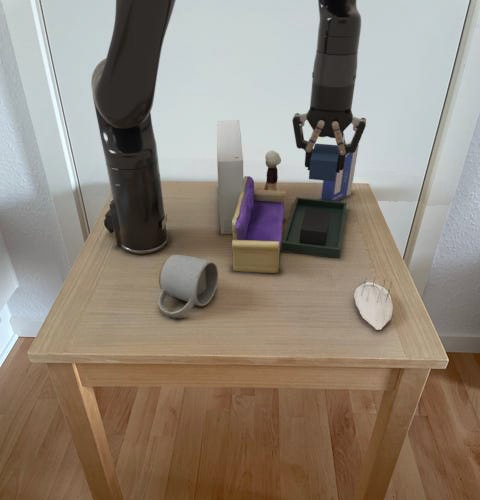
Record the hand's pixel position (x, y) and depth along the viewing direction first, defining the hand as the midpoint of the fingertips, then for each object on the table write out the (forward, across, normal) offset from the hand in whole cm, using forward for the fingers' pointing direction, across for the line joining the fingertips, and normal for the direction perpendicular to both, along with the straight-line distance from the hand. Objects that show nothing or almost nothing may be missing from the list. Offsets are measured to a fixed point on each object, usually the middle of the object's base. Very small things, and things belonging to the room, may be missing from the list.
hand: (323, 169), depth 98 cm
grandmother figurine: (+11, +11, -3) cm, 16 cm away
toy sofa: (+11, +10, +12) cm, 20 cm away
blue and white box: (+11, -3, -11) cm, 16 cm away
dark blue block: (0, 0, 0) cm, 0 cm away
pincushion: (+11, -12, +28) cm, 32 cm away
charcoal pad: (+11, 0, +8) cm, 14 cm away
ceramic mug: (+11, +19, +33) cm, 40 cm away
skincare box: (+11, +19, 0) cm, 22 cm away
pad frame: (+11, 0, +4) cm, 12 cm away
